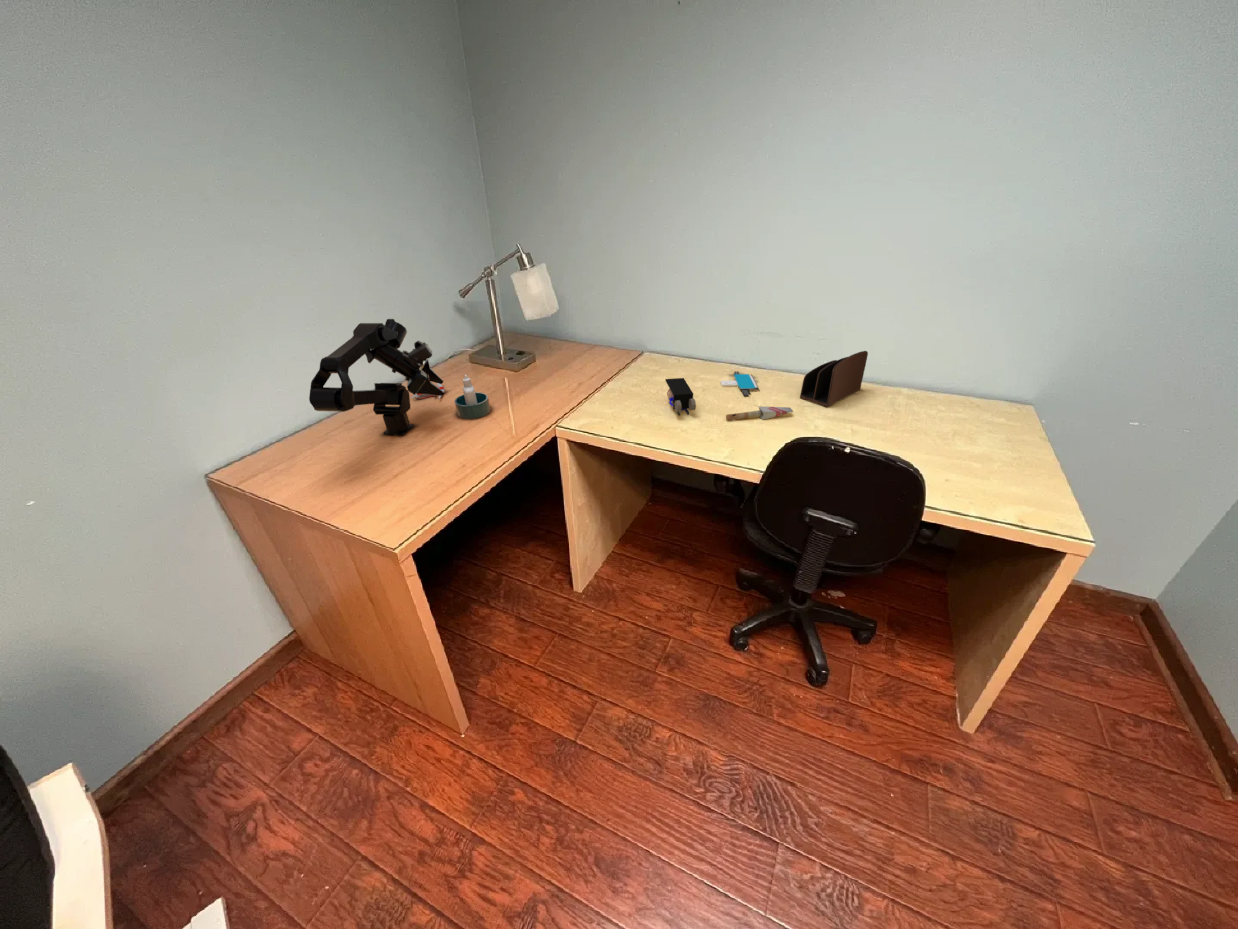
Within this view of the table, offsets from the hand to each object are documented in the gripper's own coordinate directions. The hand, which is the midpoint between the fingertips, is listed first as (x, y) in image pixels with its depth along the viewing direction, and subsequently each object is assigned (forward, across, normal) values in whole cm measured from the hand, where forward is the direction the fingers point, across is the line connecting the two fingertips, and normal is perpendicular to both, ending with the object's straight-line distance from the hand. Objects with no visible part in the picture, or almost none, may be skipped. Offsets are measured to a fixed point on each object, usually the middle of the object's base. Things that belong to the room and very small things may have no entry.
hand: (443, 388), depth 149 cm
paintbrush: (+69, -36, -56) cm, 96 cm away
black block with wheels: (+56, -21, -42) cm, 73 cm away
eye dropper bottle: (+12, 0, +1) cm, 12 cm away
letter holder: (+90, -30, -76) cm, 122 cm away
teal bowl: (+12, 0, +2) cm, 12 cm away
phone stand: (+74, -12, -60) cm, 96 cm away
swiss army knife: (+3, +19, +11) cm, 22 cm away
